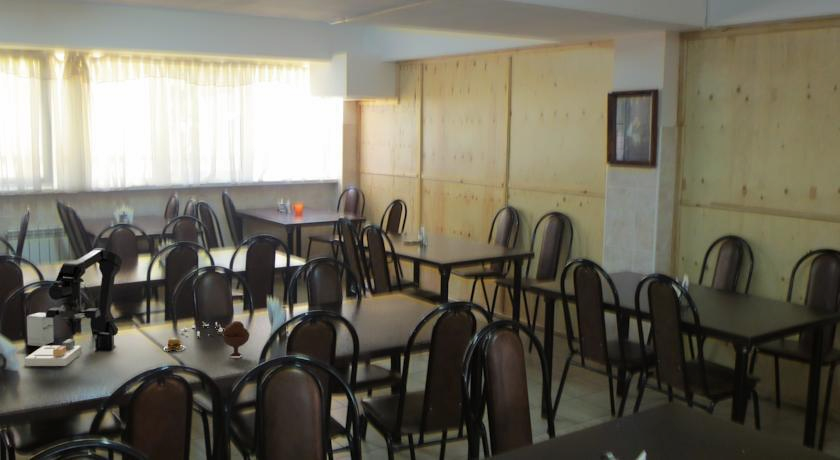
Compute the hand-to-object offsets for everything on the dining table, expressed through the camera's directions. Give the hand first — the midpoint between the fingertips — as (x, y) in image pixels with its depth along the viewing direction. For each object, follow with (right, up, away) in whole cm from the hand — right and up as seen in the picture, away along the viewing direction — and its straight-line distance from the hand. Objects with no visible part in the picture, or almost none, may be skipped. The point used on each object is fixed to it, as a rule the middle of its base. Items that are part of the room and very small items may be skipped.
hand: (73, 334), depth 305 cm
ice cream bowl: (+59, -11, +15) cm, 62 cm away
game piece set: (+36, -6, +52) cm, 63 cm away
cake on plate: (+32, -10, +24) cm, 41 cm away
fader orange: (-5, -8, 0) cm, 9 cm away
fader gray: (-6, -6, +10) cm, 14 cm away
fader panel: (-10, -10, +5) cm, 15 cm away
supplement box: (-26, -8, +27) cm, 38 cm away
